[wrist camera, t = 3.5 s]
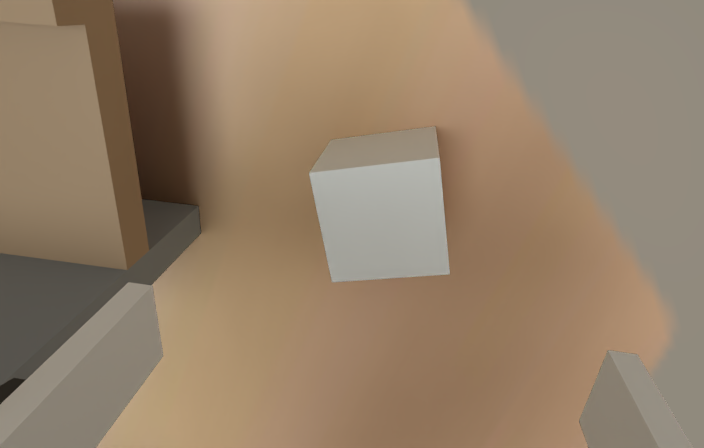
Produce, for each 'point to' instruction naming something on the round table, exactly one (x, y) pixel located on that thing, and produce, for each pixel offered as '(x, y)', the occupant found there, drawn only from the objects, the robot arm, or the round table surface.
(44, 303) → the board
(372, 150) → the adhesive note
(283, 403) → the round table surface
